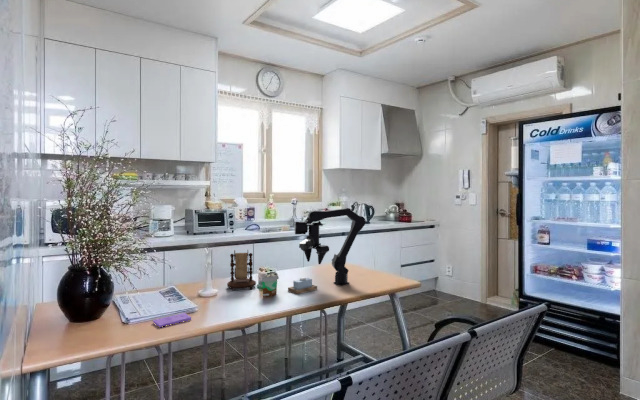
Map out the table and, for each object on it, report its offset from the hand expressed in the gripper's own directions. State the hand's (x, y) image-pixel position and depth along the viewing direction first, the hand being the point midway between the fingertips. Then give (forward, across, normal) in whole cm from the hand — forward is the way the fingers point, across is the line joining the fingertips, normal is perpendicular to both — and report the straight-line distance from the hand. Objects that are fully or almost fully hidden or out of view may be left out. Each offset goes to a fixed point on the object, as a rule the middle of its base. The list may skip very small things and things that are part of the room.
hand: (313, 262), depth 200 cm
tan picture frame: (+12, +4, -11) cm, 17 cm away
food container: (+12, 0, -27) cm, 30 cm away
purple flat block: (+13, +4, -77) cm, 78 cm away
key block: (+12, +4, -11) cm, 16 cm away
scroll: (+12, -21, -32) cm, 40 cm away
